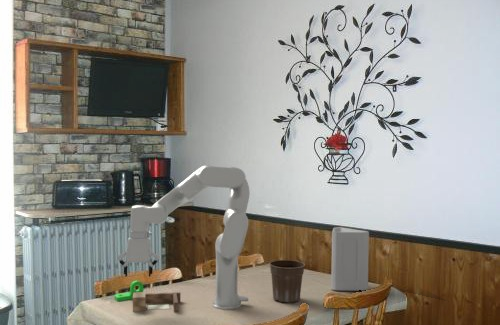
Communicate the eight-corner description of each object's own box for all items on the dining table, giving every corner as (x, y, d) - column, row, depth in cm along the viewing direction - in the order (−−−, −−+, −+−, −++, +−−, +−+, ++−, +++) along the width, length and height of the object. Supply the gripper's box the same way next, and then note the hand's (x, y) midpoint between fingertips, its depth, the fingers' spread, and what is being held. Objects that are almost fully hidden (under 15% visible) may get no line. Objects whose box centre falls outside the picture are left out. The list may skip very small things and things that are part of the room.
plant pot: (308, 303, 239) (309, 267, 238) (272, 304, 236) (273, 267, 236) (299, 293, 255) (300, 259, 254) (265, 294, 252) (266, 260, 252)
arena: (180, 301, 240) (180, 292, 240) (182, 312, 224) (182, 302, 224) (144, 302, 237) (144, 293, 237) (143, 313, 222) (143, 303, 222)
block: (145, 306, 233) (145, 292, 232) (145, 311, 225) (145, 297, 225) (133, 306, 232) (133, 292, 232) (132, 312, 224) (132, 297, 224)
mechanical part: (138, 295, 250) (138, 277, 250) (143, 298, 245) (143, 280, 244) (112, 298, 243) (112, 281, 243) (117, 302, 238) (117, 283, 238)
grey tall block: (318, 285, 270) (319, 229, 269) (338, 281, 280) (339, 226, 279) (348, 294, 255) (349, 234, 255) (368, 289, 265) (369, 231, 264)
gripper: (160, 233, 233) (158, 273, 233) (118, 233, 230) (117, 273, 230) (160, 236, 225) (159, 277, 226) (117, 236, 222) (116, 278, 223)
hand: (138, 275), depth 228 cm, fingers open, 9 cm apart
